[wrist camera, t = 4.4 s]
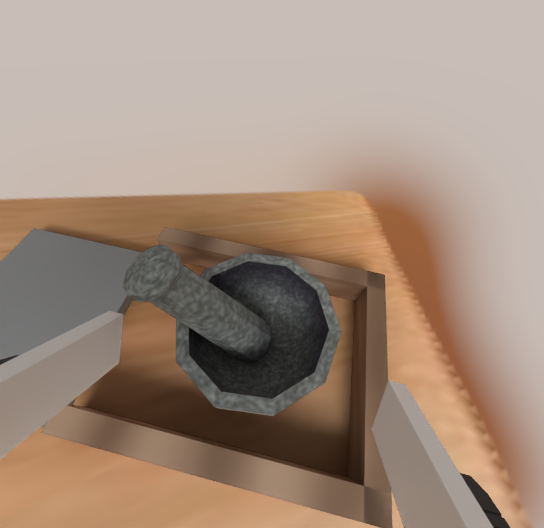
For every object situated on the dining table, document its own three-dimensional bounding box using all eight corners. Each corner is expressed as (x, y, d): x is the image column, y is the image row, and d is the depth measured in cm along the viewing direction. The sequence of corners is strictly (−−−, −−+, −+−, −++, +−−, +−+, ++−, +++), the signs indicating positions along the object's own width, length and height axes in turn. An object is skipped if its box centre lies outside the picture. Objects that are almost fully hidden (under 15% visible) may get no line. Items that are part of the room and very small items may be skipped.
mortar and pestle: (317, 305, 23) (367, 212, 13) (315, 425, 18) (392, 422, 8) (196, 288, 23) (154, 183, 13) (159, 403, 18) (47, 374, 8)
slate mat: (-100, 384, 18) (-117, 382, 17) (41, 234, 25) (33, 228, 25) (58, 428, 17) (48, 428, 16) (154, 260, 25) (151, 254, 24)
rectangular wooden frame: (72, 431, 17) (41, 432, 15) (173, 246, 26) (164, 226, 23) (370, 514, 16) (392, 530, 13) (371, 290, 24) (384, 274, 22)
